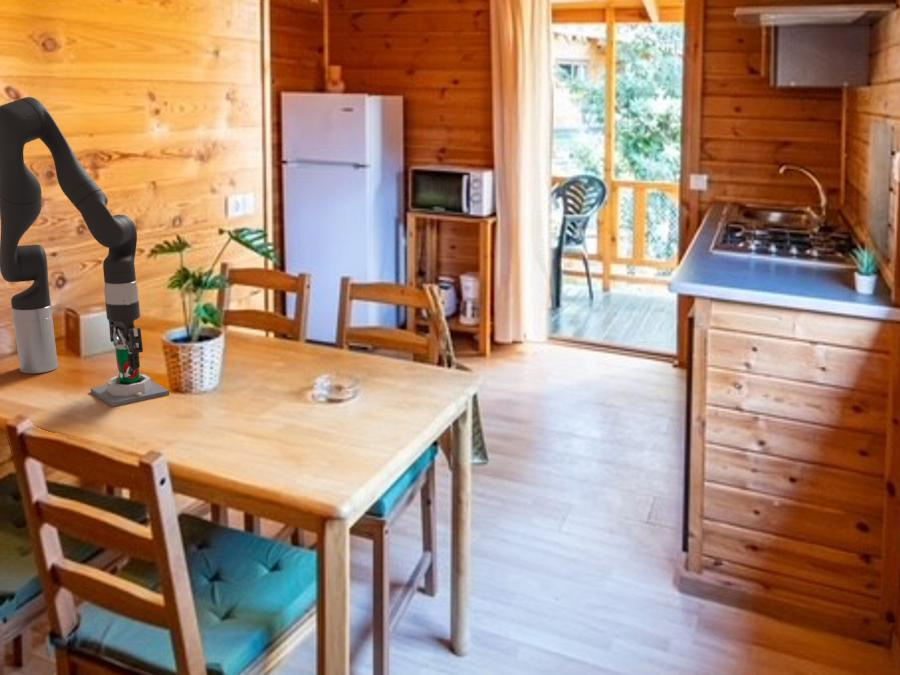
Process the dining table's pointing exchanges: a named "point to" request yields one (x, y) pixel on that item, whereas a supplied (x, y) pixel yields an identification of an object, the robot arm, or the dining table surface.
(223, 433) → the dining table surface
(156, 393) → the grey can holder
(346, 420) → the dining table surface
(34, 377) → the dining table surface
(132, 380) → the soda can
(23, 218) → the robot arm
